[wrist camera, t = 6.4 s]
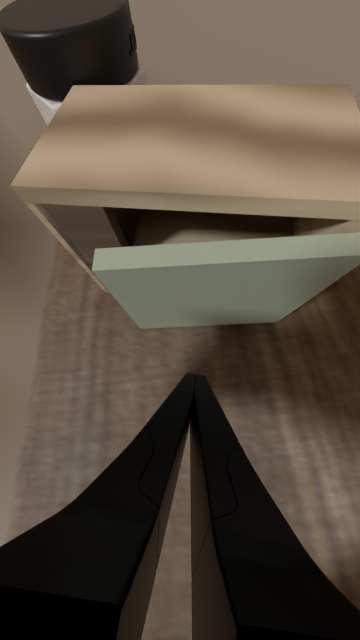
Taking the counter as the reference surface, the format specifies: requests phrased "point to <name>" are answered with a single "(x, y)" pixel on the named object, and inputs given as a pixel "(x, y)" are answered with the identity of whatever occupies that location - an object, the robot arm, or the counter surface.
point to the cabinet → (195, 165)
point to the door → (223, 278)
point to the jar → (71, 46)
